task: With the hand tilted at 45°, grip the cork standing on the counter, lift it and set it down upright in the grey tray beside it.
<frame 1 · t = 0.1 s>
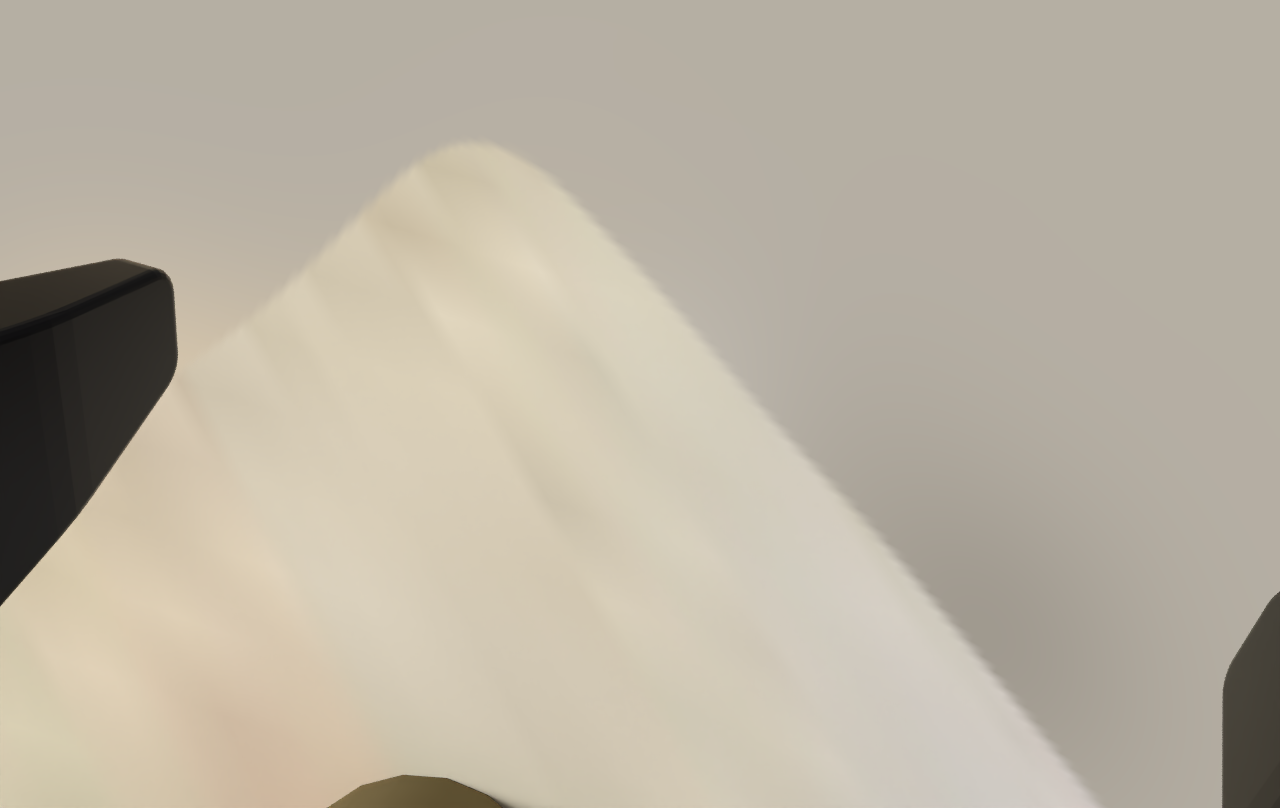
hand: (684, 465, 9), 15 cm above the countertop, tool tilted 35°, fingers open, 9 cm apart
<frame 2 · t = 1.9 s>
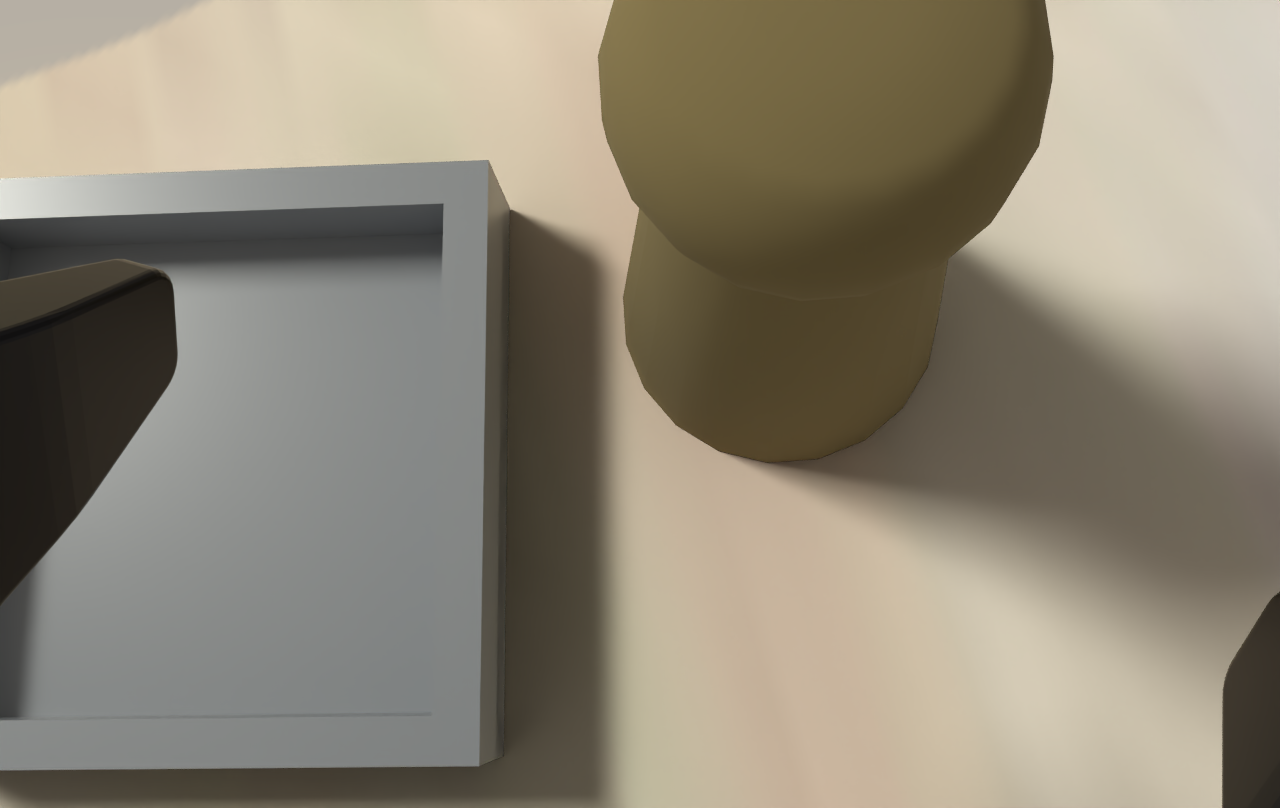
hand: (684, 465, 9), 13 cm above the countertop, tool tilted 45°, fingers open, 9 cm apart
cork: (778, 311, 23), on the countertop
grey tray: (236, 474, 23), on the countertop
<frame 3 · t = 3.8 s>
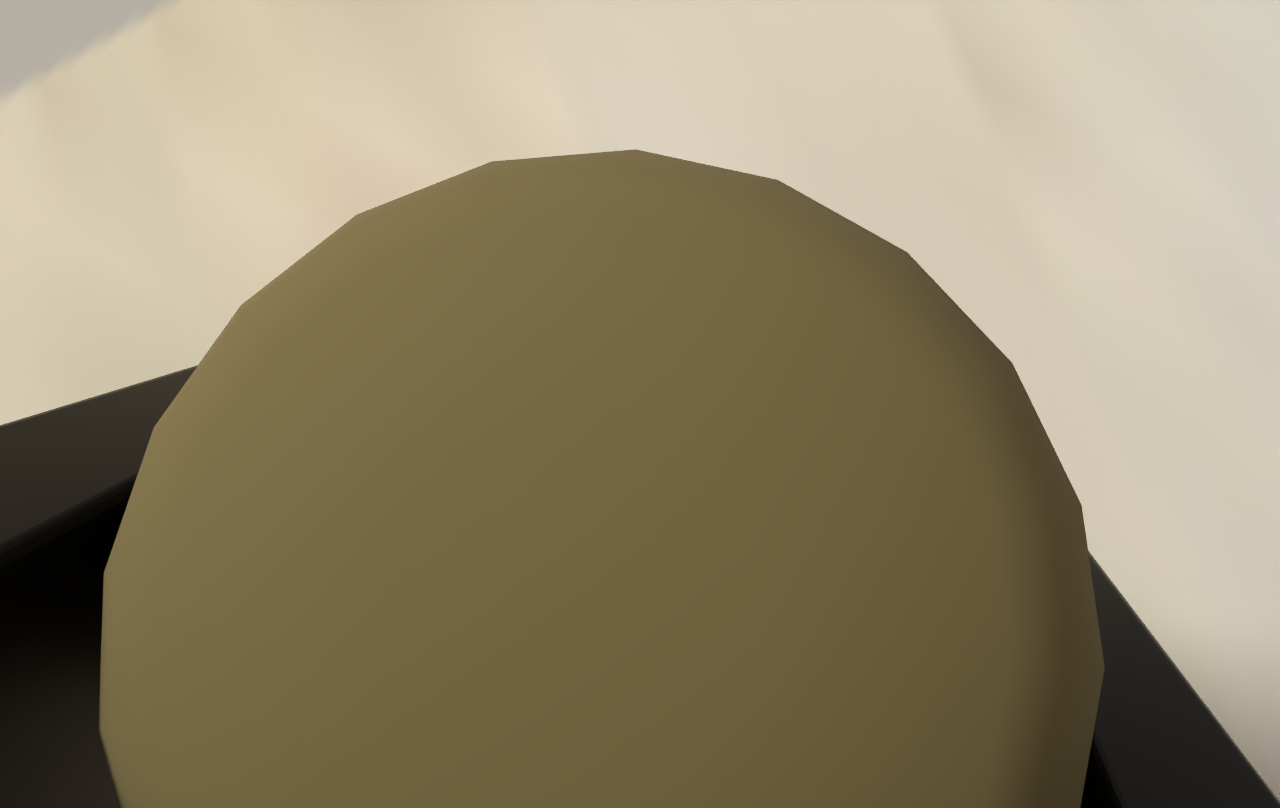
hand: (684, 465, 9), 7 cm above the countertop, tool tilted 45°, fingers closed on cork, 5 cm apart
cork: (667, 649, 16), on the countertop, touching gripper
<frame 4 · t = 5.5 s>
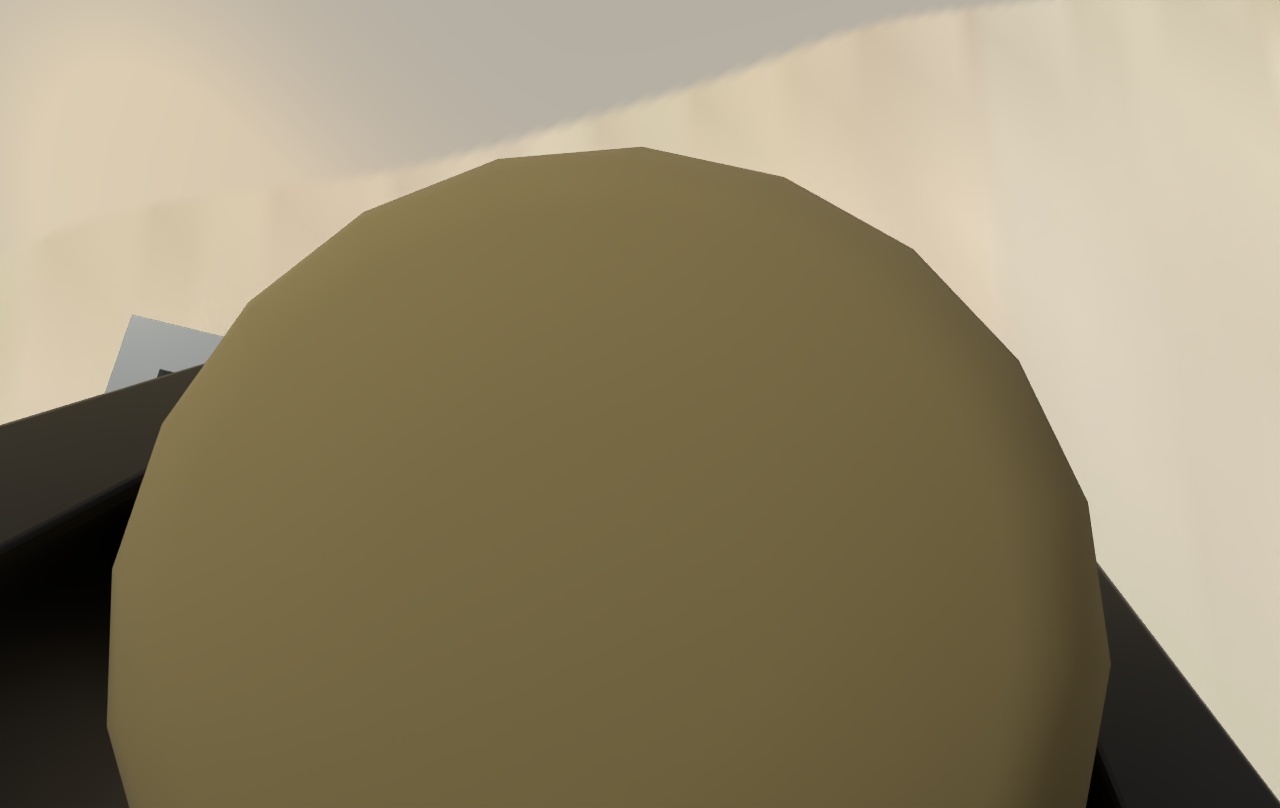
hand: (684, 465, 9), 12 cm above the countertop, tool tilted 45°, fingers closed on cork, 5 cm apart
cork: (672, 647, 16), point 5 cm above the countertop, touching gripper
grey tray: (368, 689, 21), on the countertop
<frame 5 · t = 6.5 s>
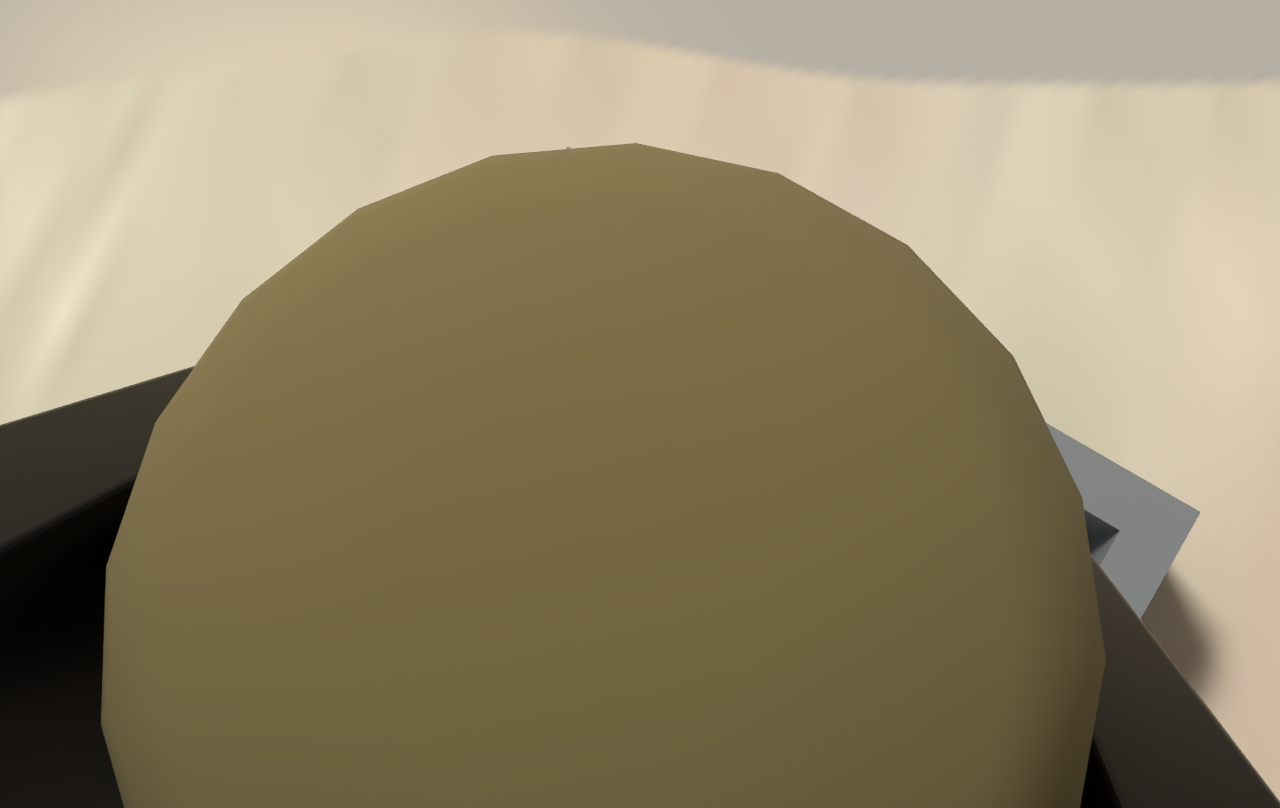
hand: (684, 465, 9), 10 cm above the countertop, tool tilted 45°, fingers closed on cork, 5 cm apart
cork: (670, 645, 16), point 3 cm above the countertop, touching gripper
grey tray: (681, 633, 19), on the countertop
when the fingers open (9 cm above the countertop, at t = 7.2 s): cork drops 1 cm, resting on grey tray.
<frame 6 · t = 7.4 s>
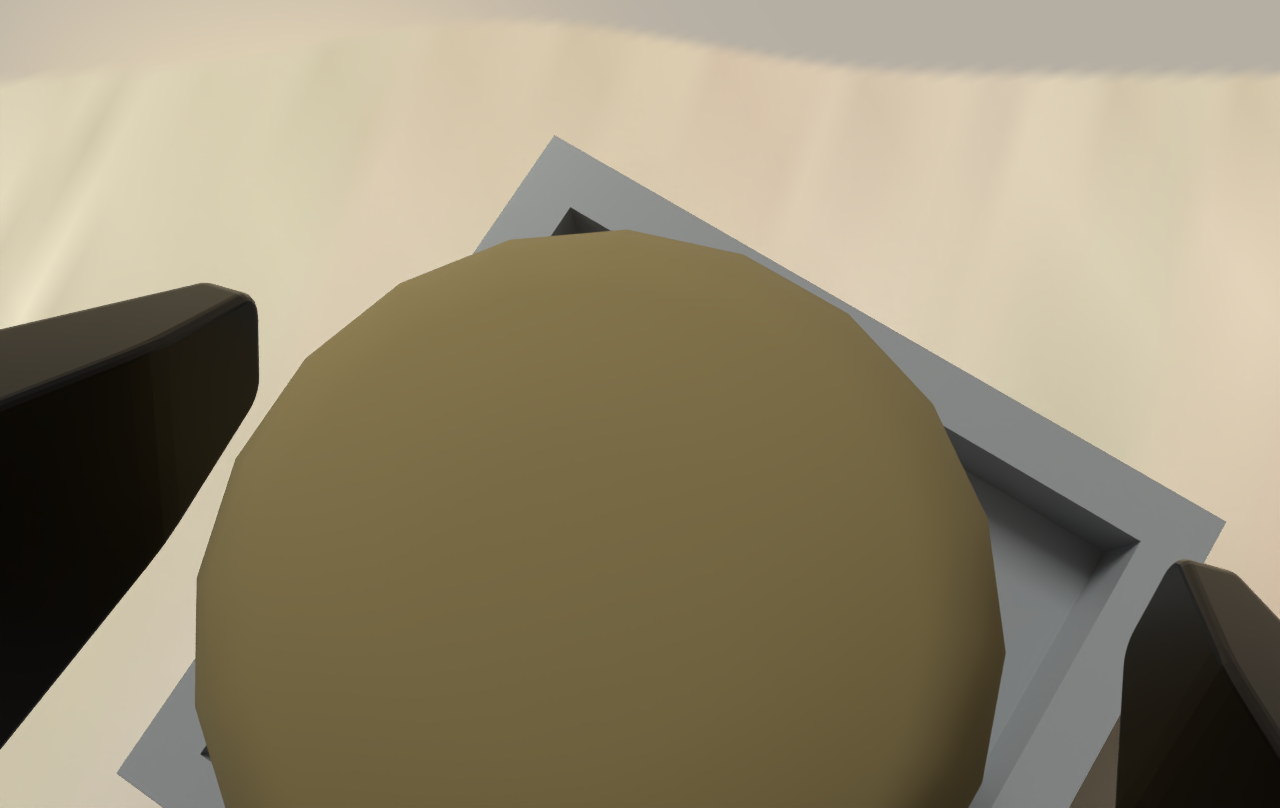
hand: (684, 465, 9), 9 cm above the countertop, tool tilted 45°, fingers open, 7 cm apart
cork: (661, 652, 17), point 1 cm above the countertop, touching grey tray
grey tray: (673, 650, 18), on the countertop
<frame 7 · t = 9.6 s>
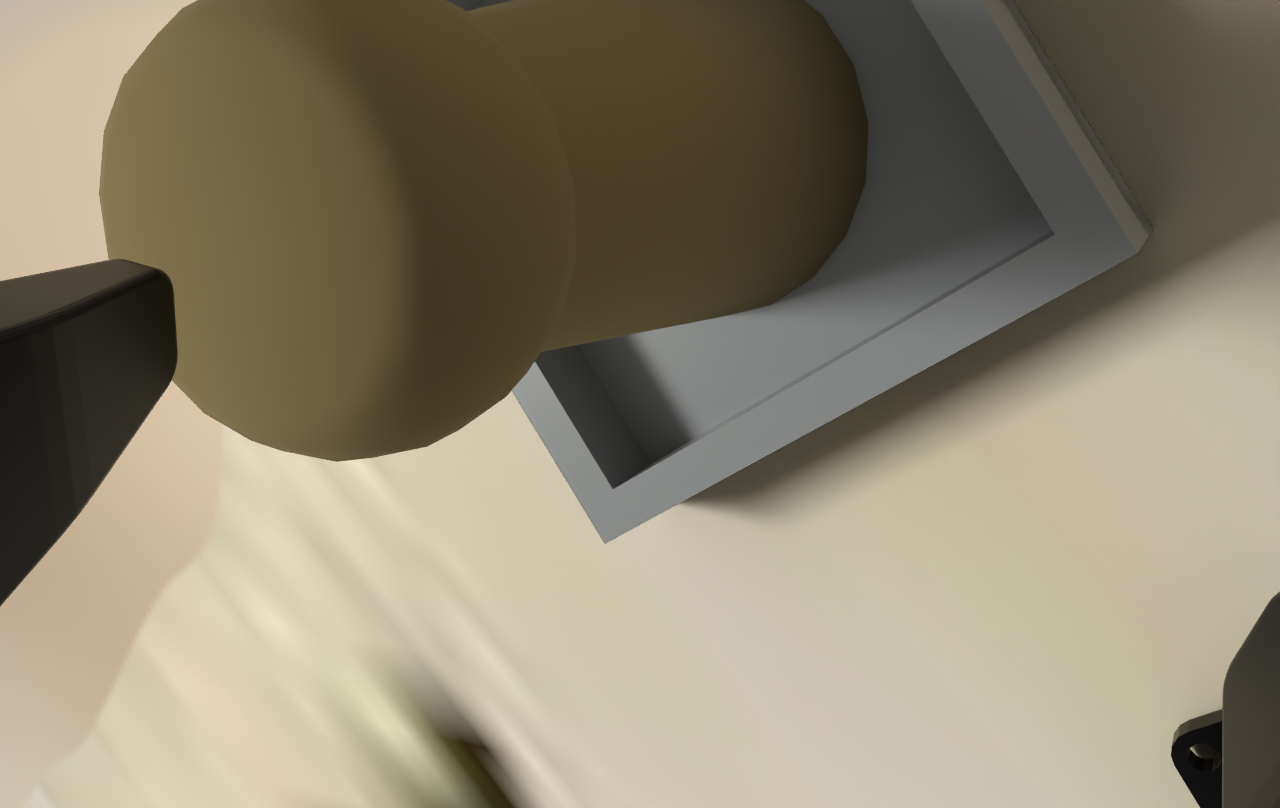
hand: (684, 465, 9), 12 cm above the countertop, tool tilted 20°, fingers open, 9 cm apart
cork: (705, 144, 21), point 1 cm above the countertop, touching grey tray
grey tray: (721, 132, 21), on the countertop
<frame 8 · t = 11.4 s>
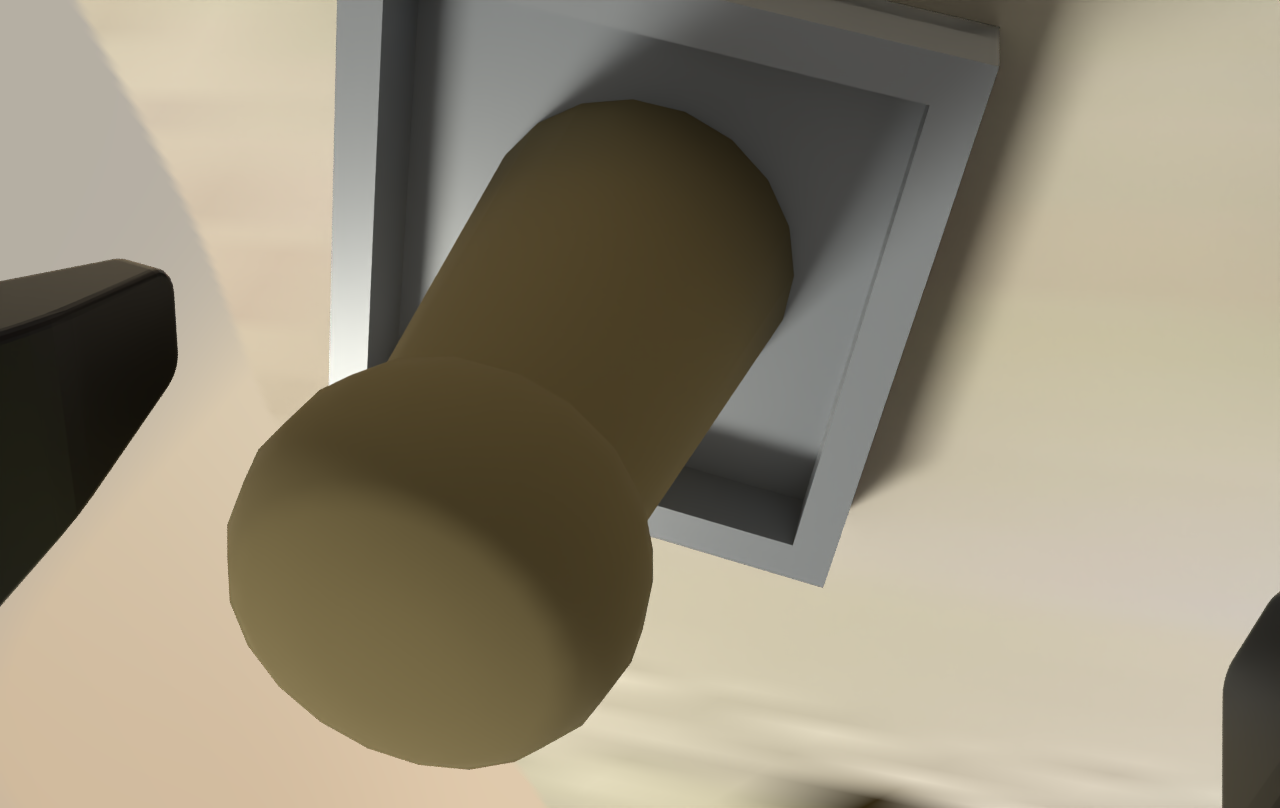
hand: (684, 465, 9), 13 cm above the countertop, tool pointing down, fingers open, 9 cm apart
cork: (636, 253, 23), point 1 cm above the countertop, touching grey tray
grey tray: (639, 233, 23), on the countertop
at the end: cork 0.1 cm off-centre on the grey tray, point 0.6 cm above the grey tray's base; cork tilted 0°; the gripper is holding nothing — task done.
